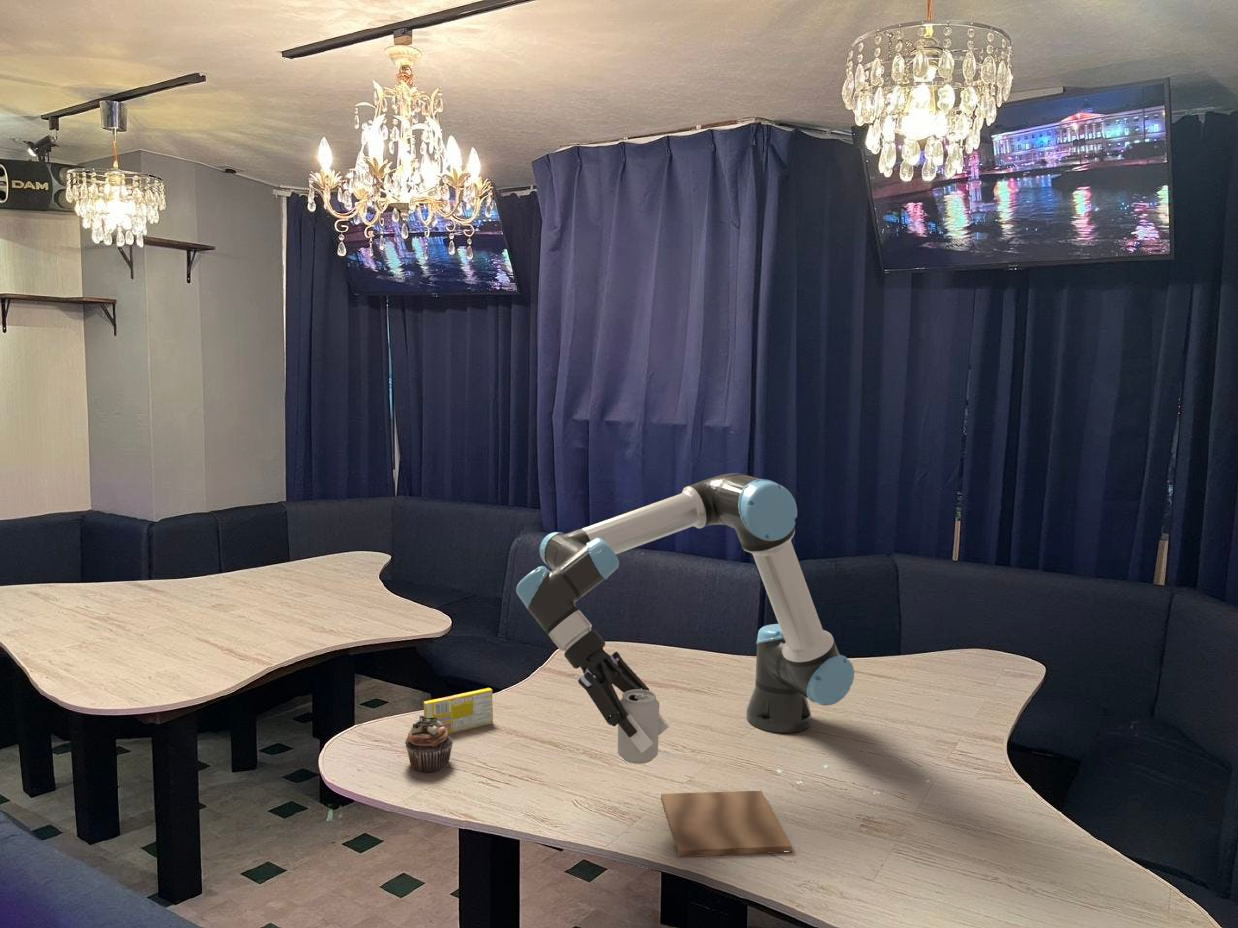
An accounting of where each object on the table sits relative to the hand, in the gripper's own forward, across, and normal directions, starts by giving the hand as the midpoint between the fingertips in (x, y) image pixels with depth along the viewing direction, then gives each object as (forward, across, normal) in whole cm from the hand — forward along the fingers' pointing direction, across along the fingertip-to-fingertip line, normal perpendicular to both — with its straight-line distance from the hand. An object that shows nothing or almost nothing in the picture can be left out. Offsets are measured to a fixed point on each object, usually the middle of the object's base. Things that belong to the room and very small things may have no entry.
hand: (655, 739), depth 165 cm
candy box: (-27, -18, -51) cm, 60 cm away
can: (+1, 0, -6) cm, 6 cm away
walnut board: (+20, -5, -3) cm, 21 cm away
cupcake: (-24, -1, -48) cm, 53 cm away
